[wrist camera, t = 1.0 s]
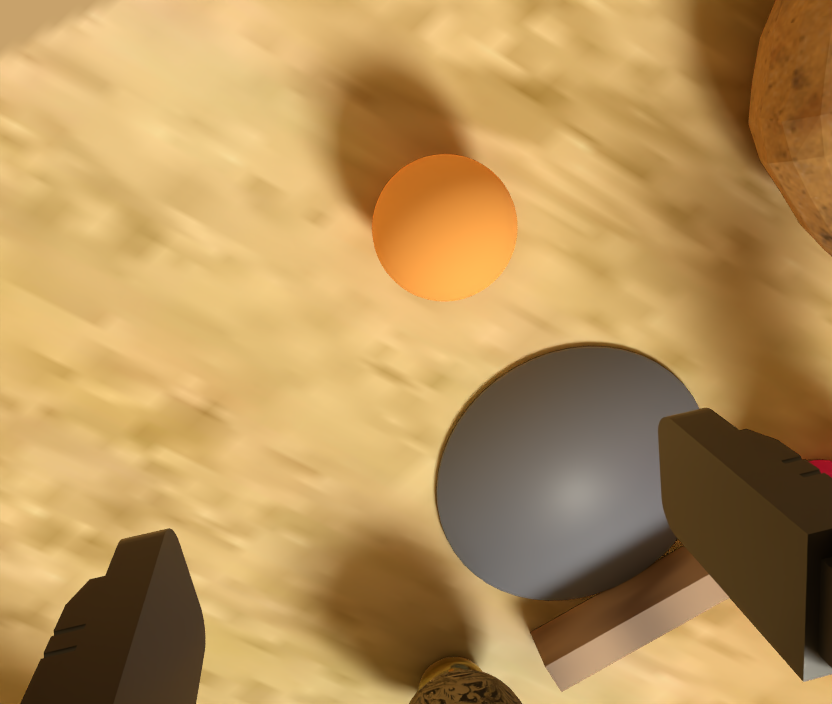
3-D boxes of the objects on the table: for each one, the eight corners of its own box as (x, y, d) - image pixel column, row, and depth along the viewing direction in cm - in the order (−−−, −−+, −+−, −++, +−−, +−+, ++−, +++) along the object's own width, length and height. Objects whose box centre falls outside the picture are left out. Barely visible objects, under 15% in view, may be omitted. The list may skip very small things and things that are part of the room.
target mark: (646, 291, 33) (648, 292, 33) (744, 511, 38) (746, 513, 38) (383, 443, 34) (384, 445, 33) (514, 641, 39) (515, 644, 38)
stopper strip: (727, 521, 38) (755, 548, 36) (739, 547, 39) (767, 576, 37) (530, 632, 39) (545, 666, 36) (545, 656, 39) (561, 691, 37)
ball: (458, 123, 29) (493, 128, 24) (517, 241, 31) (561, 268, 26) (340, 193, 30) (349, 213, 24) (407, 305, 32) (428, 346, 26)
